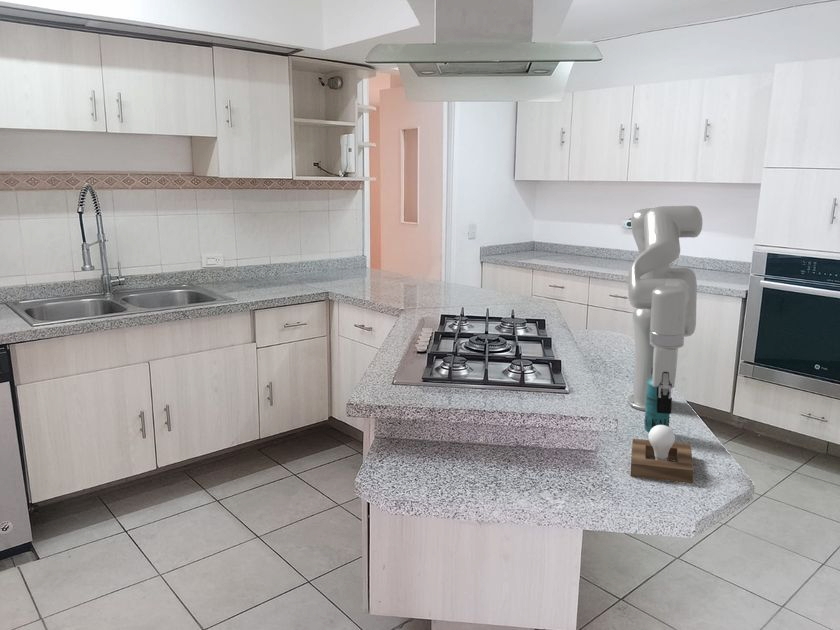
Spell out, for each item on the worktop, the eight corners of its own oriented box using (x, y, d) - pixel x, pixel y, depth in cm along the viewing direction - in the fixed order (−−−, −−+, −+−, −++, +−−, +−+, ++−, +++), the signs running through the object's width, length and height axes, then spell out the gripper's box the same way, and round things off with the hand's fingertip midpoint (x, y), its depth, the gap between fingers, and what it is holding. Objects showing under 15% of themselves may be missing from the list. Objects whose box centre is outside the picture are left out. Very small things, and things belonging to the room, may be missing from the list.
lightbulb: (675, 462, 160) (677, 422, 157) (672, 474, 155) (673, 433, 152) (650, 458, 163) (651, 419, 160) (645, 469, 158) (646, 429, 155)
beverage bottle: (648, 428, 180) (651, 361, 175) (672, 433, 176) (676, 365, 171) (640, 436, 175) (642, 368, 170) (664, 442, 171) (667, 372, 166)
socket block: (632, 450, 168) (632, 438, 167) (689, 456, 163) (690, 444, 162) (630, 476, 155) (630, 463, 154) (692, 483, 150) (693, 470, 149)
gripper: (650, 326, 160) (647, 389, 164) (649, 349, 144) (646, 418, 149) (682, 328, 157) (678, 392, 162) (685, 351, 141) (681, 421, 146)
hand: (663, 404), depth 155 cm, fingers open, 9 cm apart
